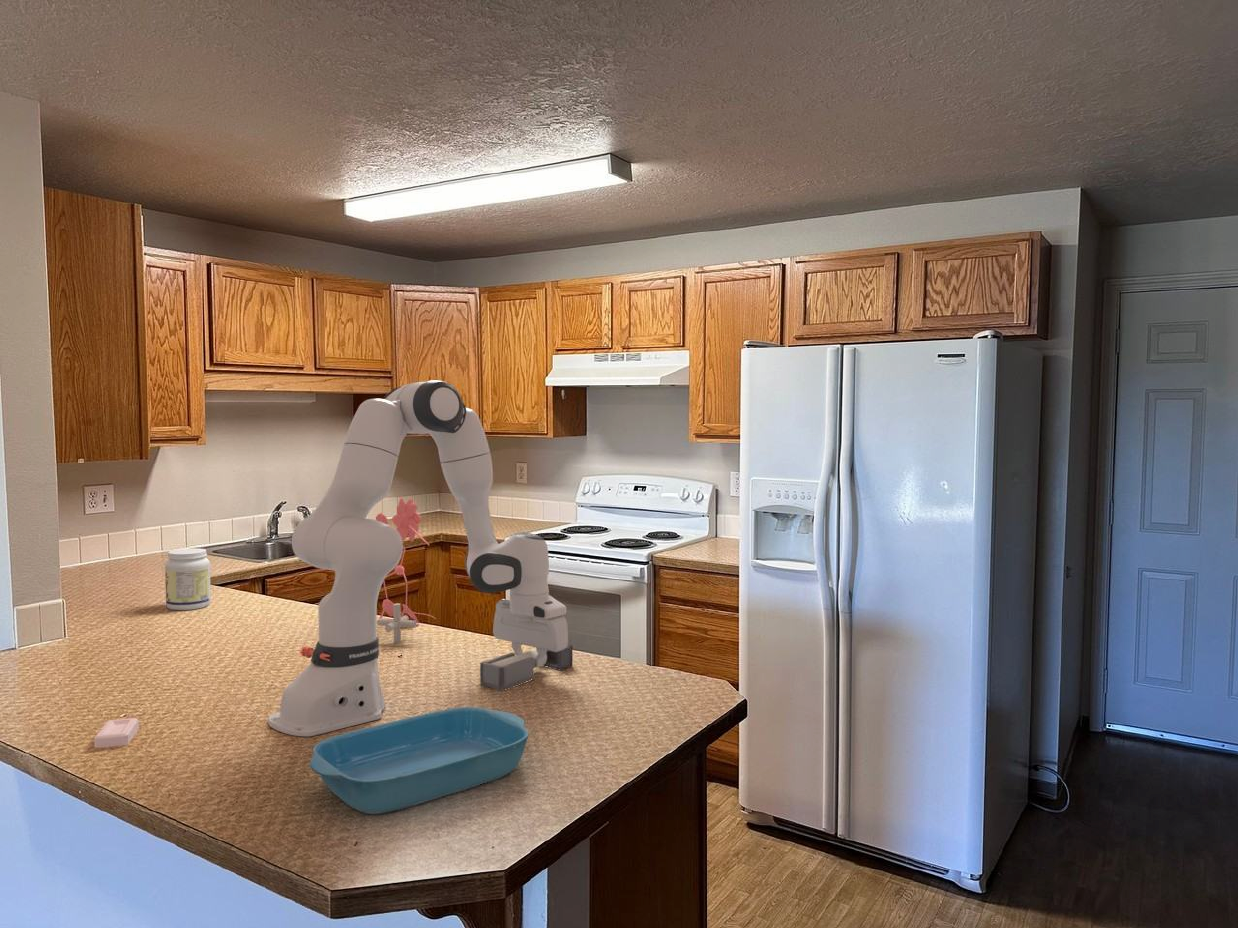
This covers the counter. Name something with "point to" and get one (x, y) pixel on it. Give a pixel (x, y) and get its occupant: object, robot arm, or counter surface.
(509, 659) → the slip tube
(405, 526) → the figurine
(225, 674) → the counter surface
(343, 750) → the casserole dish
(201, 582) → the supplement tub
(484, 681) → the sleeve
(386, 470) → the robot arm
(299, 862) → the counter surface
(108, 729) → the soap bar
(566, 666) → the socket
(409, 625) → the pipe connector
